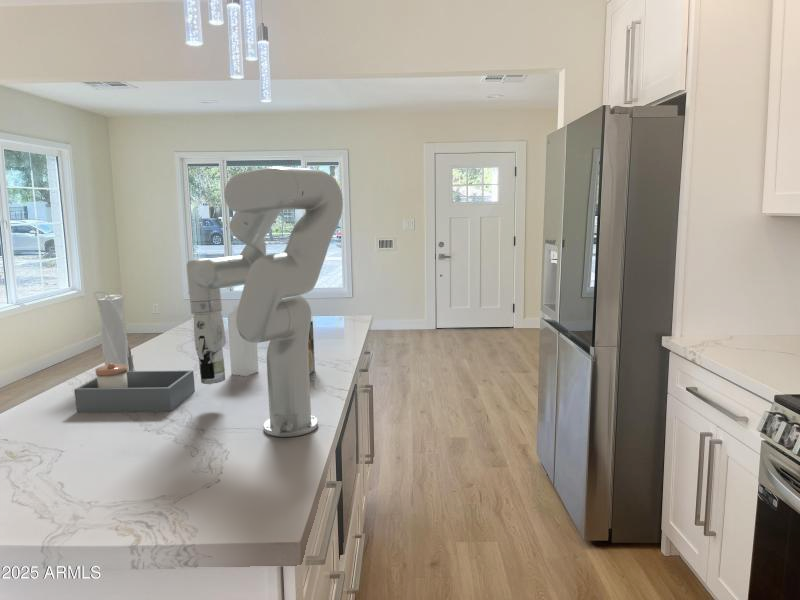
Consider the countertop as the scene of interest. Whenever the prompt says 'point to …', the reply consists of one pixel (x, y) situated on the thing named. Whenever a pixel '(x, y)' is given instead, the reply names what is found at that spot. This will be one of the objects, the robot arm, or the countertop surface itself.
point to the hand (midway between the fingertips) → (212, 374)
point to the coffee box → (311, 349)
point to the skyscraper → (114, 331)
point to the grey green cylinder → (216, 368)
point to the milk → (241, 350)
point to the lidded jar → (112, 376)
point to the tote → (138, 393)
